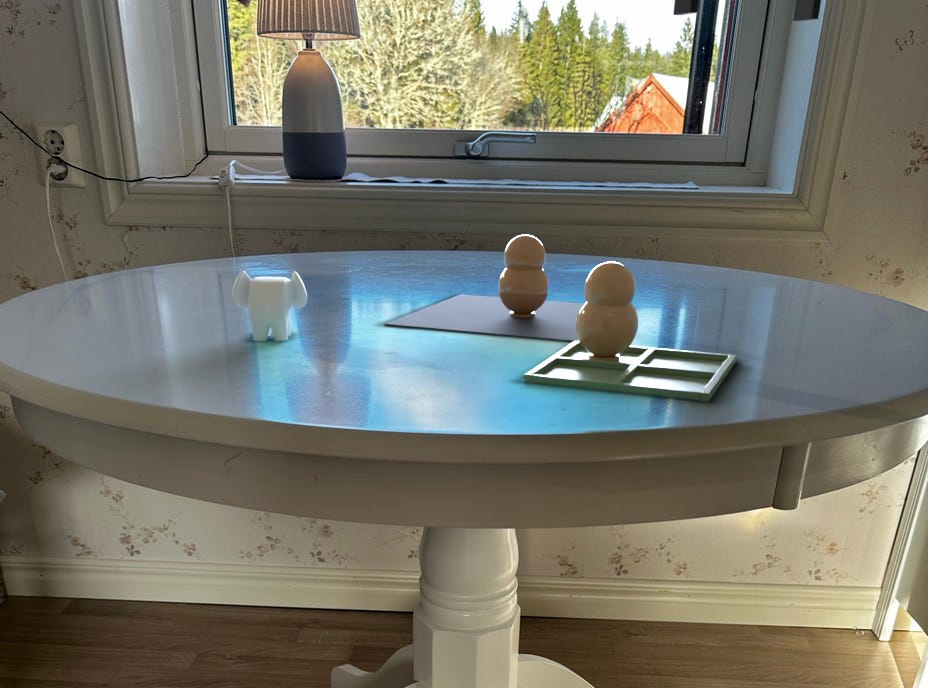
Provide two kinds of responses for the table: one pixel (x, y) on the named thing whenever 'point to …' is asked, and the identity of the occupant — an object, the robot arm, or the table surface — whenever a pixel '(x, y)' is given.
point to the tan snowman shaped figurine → (524, 277)
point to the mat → (495, 318)
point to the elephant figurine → (269, 303)
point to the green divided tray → (637, 371)
